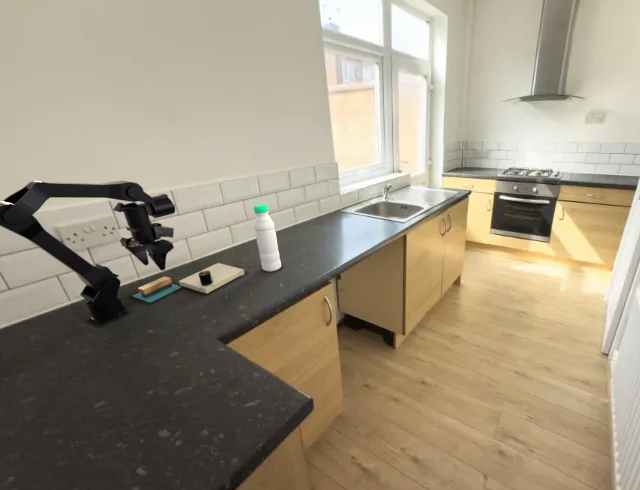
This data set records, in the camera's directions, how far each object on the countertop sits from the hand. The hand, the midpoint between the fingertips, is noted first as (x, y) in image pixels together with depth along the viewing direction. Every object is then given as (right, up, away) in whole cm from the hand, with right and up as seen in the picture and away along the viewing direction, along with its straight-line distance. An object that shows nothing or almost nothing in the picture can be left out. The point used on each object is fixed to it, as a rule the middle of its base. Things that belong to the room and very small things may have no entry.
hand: (154, 267), depth 105 cm
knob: (+15, -6, +5) cm, 16 cm away
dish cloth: (-2, -9, +4) cm, 10 cm away
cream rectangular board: (+13, -5, +11) cm, 18 cm away
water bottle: (+32, -1, +19) cm, 37 cm away
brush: (-2, -8, +4) cm, 9 cm away
